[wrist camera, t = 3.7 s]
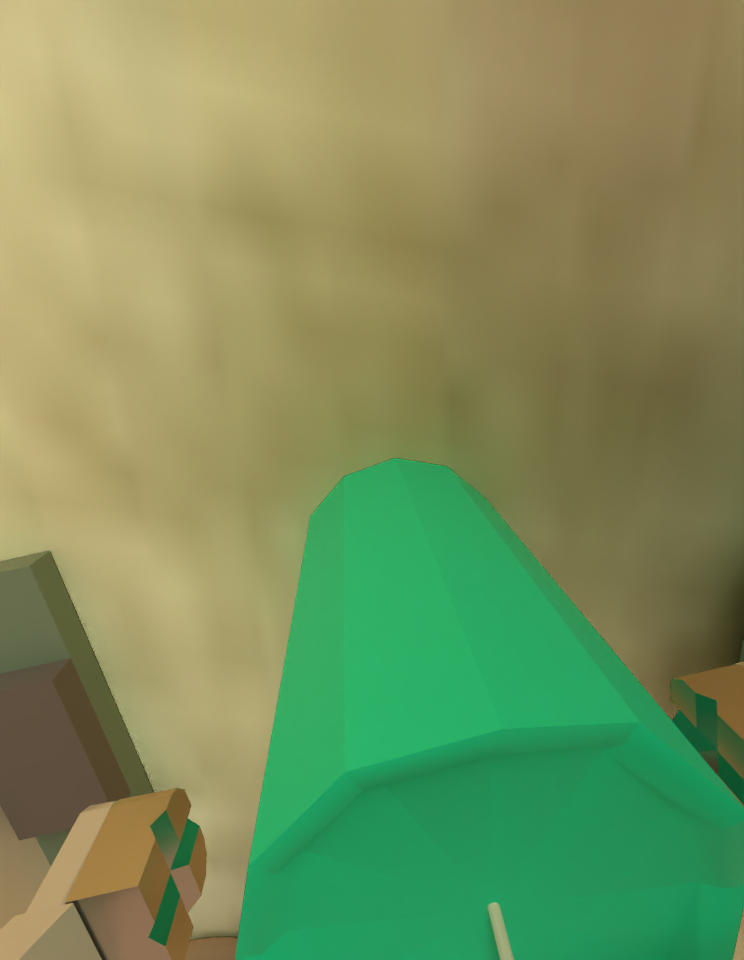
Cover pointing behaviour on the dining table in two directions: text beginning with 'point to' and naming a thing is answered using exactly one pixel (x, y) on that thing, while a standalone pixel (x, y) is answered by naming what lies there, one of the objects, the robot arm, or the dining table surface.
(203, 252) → the dining table surface
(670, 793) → the candle
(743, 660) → the casserole dish
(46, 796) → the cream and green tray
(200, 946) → the coffee cup
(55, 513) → the dining table surface
